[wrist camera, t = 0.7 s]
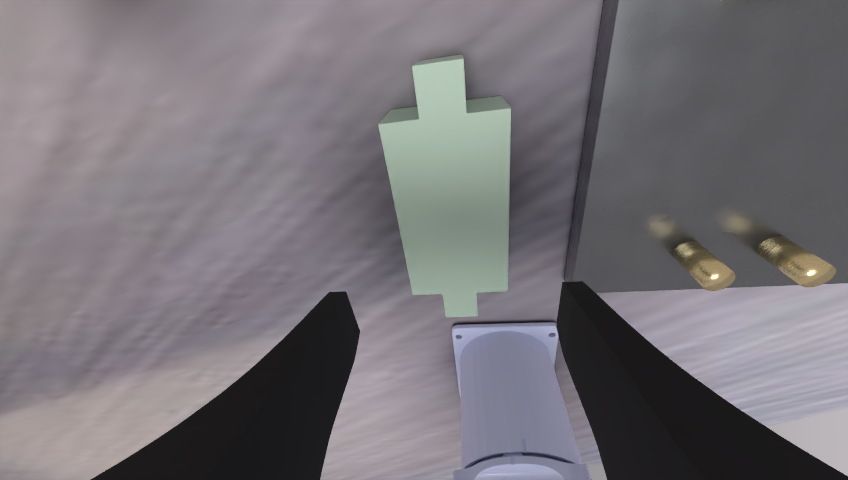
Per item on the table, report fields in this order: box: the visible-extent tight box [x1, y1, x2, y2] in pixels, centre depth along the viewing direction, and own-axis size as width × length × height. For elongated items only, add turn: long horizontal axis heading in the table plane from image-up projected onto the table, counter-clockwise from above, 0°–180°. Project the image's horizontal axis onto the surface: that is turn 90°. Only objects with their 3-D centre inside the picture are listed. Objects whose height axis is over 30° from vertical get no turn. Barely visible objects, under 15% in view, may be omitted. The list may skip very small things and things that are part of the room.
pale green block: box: [378, 54, 511, 317], centre depth 17 cm, size 14×6×3 cm, turn 8°
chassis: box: [564, 0, 848, 293], centre depth 14 cm, size 18×16×4 cm
